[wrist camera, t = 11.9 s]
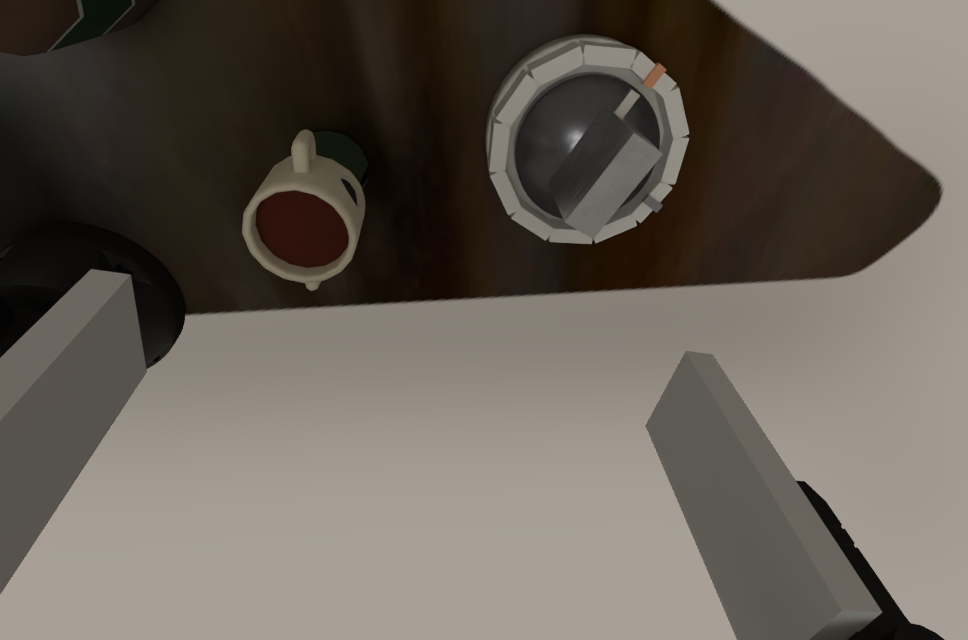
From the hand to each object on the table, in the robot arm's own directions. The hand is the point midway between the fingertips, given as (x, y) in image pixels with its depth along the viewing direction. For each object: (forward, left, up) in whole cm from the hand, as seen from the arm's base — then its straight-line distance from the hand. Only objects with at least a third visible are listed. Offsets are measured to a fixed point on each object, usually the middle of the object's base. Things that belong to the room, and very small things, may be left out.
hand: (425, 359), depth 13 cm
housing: (+12, -4, -35) cm, 37 cm away
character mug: (-8, -8, -35) cm, 37 cm away
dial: (+12, -4, -31) cm, 34 cm away
